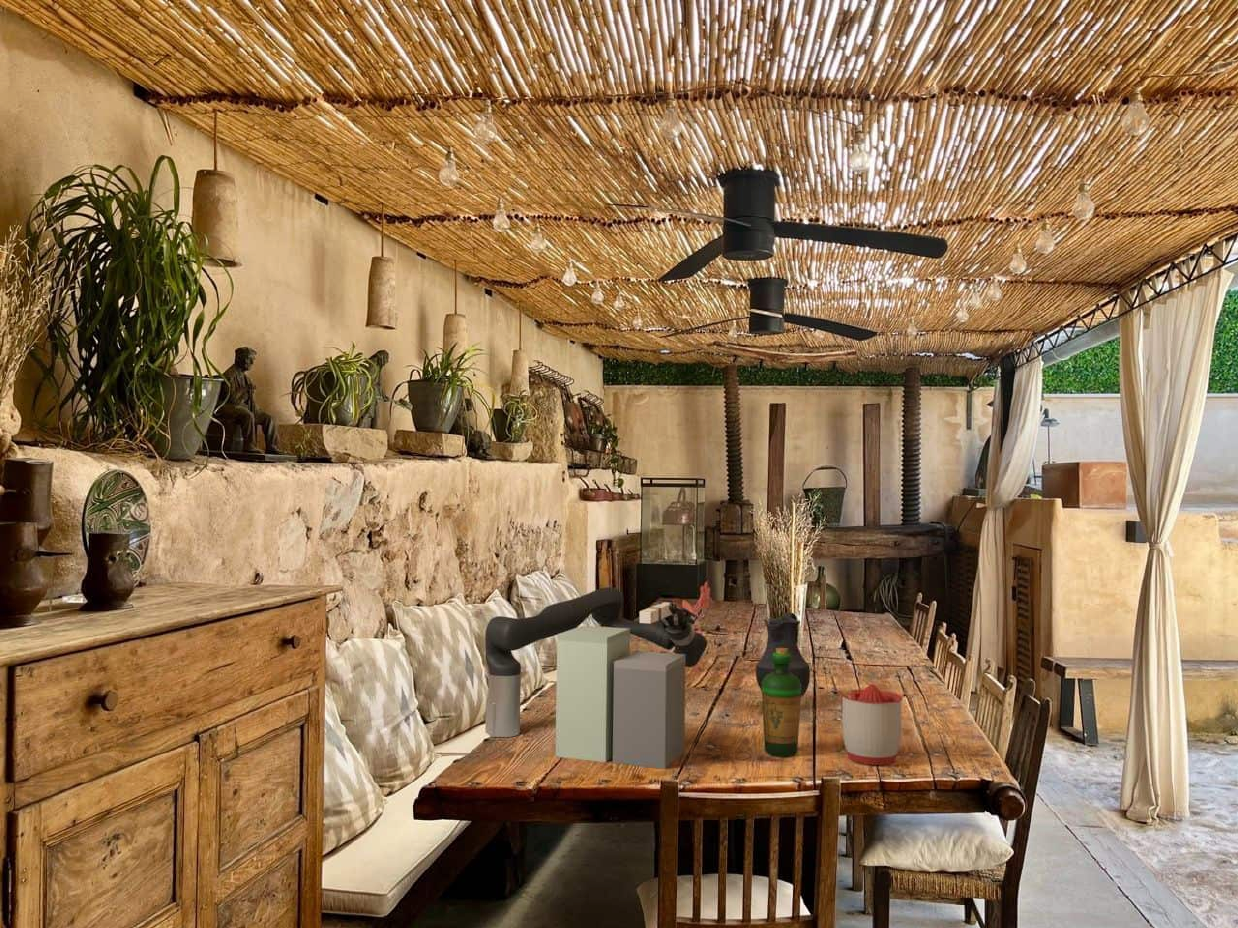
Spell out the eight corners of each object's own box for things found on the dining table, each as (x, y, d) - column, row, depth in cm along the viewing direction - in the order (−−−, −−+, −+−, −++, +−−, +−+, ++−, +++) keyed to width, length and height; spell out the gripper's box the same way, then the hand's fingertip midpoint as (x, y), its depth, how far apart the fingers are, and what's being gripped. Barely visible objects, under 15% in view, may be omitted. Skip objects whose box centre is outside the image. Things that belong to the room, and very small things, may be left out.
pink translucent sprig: (675, 676, 366) (678, 583, 367) (696, 665, 390) (699, 578, 390) (714, 681, 360) (717, 586, 361) (733, 669, 384) (736, 580, 385)
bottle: (770, 759, 255) (771, 652, 256) (754, 749, 265) (755, 646, 266) (807, 757, 258) (808, 651, 259) (790, 746, 268) (791, 644, 269)
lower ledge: (635, 745, 267) (636, 650, 268) (684, 751, 262) (685, 654, 263) (612, 762, 250) (614, 661, 251) (664, 768, 246) (666, 665, 246)
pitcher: (748, 709, 314) (749, 615, 314) (769, 697, 332) (770, 609, 333) (800, 715, 305) (801, 619, 306) (819, 703, 324) (820, 612, 325)
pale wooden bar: (664, 612, 274) (664, 601, 274) (674, 613, 273) (674, 602, 273) (639, 622, 253) (639, 611, 253) (650, 623, 252) (650, 611, 252)
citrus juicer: (851, 747, 268) (851, 674, 269) (911, 759, 257) (912, 683, 258) (824, 759, 256) (824, 683, 257) (887, 772, 245) (887, 692, 246)
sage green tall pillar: (581, 740, 273) (582, 625, 273) (628, 745, 268) (629, 628, 269) (555, 756, 256) (557, 634, 256) (605, 762, 251) (607, 637, 252)
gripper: (658, 615, 287) (642, 590, 273) (704, 617, 282) (690, 593, 268) (654, 639, 283) (637, 615, 269) (700, 642, 278) (686, 618, 264)
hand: (664, 604), depth 269 cm, fingers closed on pale wooden bar, 3 cm apart
